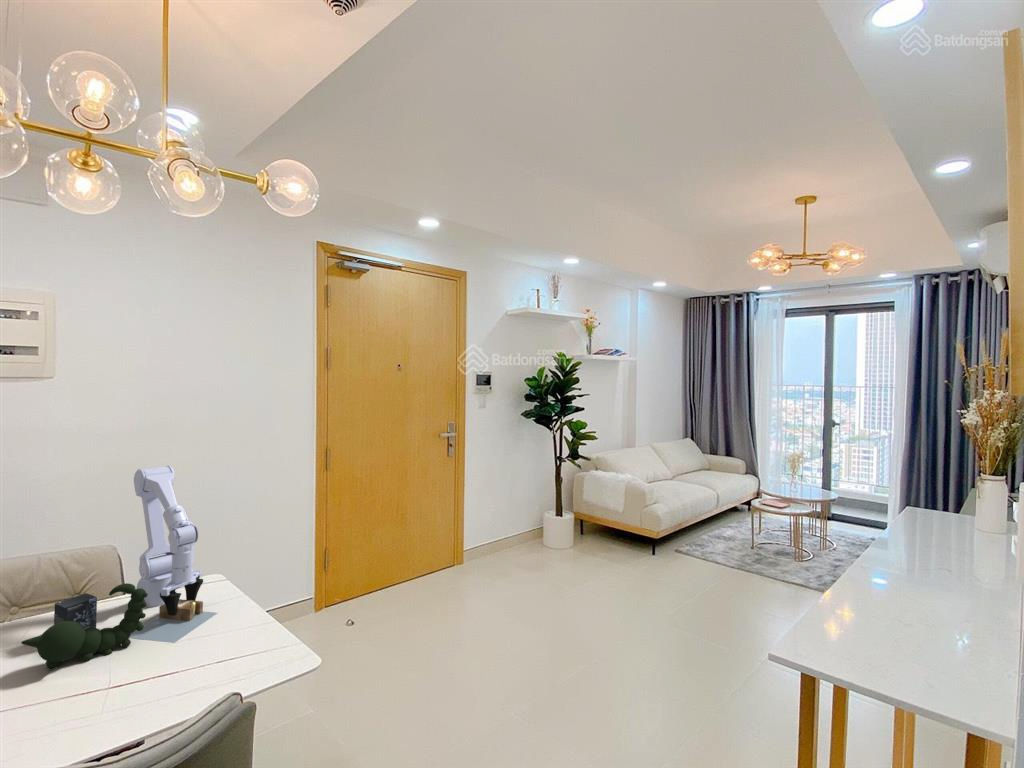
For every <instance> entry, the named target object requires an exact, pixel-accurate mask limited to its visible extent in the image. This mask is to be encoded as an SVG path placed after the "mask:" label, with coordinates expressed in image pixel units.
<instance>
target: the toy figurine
mask: <svg viewBox="0 0 1024 768" xmlns="http://www.w3.org/2000/svg"><path fill="white" fill-rule="evenodd" d="M136 588H137V587H136V586H135V584H132V583H129V582H128V583H121V584H118V585H116V586H115V587H114V588H112V589H111V591H109V593H108V595H109V596H113V595H114V594H116V593H124V594H127V595H130V599H129V601H128V602H127V609H126V610H125V612H124V614H123V618H122V619H121V620H120V622H119V623H118V624H117V625H115V626H113V627H104V628H102V629H100V628H97V627H96V628H87V629H85V628H84V627H83V626H82V625H81V624H79V623H77V622H74V621H63V622H60V623H57V624H55V625H54V624H53V625H50V627H48V628H47V629H46V630H45V631H43V632H42V633H41V634H40V635H38V636H34V637H29V638H27V639H23V640H22V641H21V644H22V645H25V646H28V647H30V648H31V647H32V648H34V649H36V650H37V654H38V655H39V657H40V658H41V659H42V660H44V661H45V666H46V669H47V670H50V671H53V670H55V669H57V668H59V667H60V666H61V665H62V664H63V662H64V661H67V660H70V659H71V658H74V657H75V656H77V657H80V661H81V662H83V663H86V662H89V661H91V660H92V659H93V658H94V654H96V653H98V654H102V656H104V657H106V656H109V655H112V654H113V650H114V649H115V648H116V647H117V646H120V645H121V646H122V647H123V648H127V647H129V646H130V645H131V643H132V642H131V638H129V637H130V635H131V633H133V632H134V631H135V630H137V631H141V630H142V629H143V628H144V626H143V625H144V624H142V621H141V620H143V619H145V617H146V615H147V614H146V613H145V612H144V610H143V609H144V608H145V607H147V606H146V605H147V603H146V602H145V599H144V598H145V597H147V595H148V594H147V593H146V591H145V590H144V589H141V588H139V589H136Z"/></svg>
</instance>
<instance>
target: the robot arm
mask: <svg viewBox="0 0 1024 768" xmlns="http://www.w3.org/2000/svg"><path fill="white" fill-rule="evenodd" d="M175 477H176V476H175V469H174V468H173V467H172V466H171V465H166V466H158V467H150V468H138V469H137V470H136V471H135V473H134V477H133V486H134V492H135V496H136V497H140V498H141V502H142V508H143V515H144V523H145V531H146V537H147V538H146V539H147V544H148V545H147V546H148V548H147V549H146V550H145V551H144V552H143V553H141V555H140V556H139V566H138V571H139V576H140V577H141V578H140V579H139V580H138V582H137V584H136V587H135V588H136V589H139V588H141V589H144V590H145V591H146V593H147V594H148V595H147V597H145V598H144V599H145V602H146V603H147V605H146V607H151V608H152V607H153V608H154V607H160V606H161V605H163V604H165V605H166V608H167V611H168V615H172V616H175V615H176V614H177V608H178V601H179V599H180V598H181V596H182V593H181V592H177V590H178V589H180V588H182V587H184V591H185V600H192V601H197V600H196V599H197V596H198V593H199V590H200V589H201V586H202V585H203V583H204V579H203V578H202V576H203V573H202V572H203V571H202V570H195V571H194V566H195V565H194V563H195V562H194V561H195V558H194V557H195V555H194V554H195V543H197V542H198V540H199V530H198V527H197V525H196V524H194V523H193V521H190V519H189V518H188V515H187V513H186V510H185V508H184V506H183V505H179V504H178V501H177V497H176V495H175V491H174V487H173V485H174V481H175V479H176V478H175ZM163 509H164V511H163ZM165 524H166V527H167V531H168V535H167V534H166V528H165ZM167 538H168V542H167Z"/></svg>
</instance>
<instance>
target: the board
mask: <svg viewBox="0 0 1024 768" xmlns="http://www.w3.org/2000/svg"><path fill="white" fill-rule="evenodd" d="M217 614H218V612H213V611H204V610H203V613H201V614H195V617H193V619H192V620H191V621H185V620H174V619H164V618H159V615H157V616H156V617H154V618H152V619H150V620H149V621H146V622H145V623H144V624H142V625H143V626H144V628H143V629H142V630H141V631H137V630H135V631H134V632H133V633H131V635H130V637H129V638H128V639H133V640H143V641H153V642H154V641H155V642H162V643H163V642H165V643H173V644H174V643H177V642H178V641H179V640H181V639H182V638H184V637H185V636H186V635H188V634H189V633H192V632H193V631H195V629H197V628H199V627H200V626H202V625H203V624H204V623H206V622H207V621H208V620H210V619H212V618H213V617H215V616H216V615H217Z"/></svg>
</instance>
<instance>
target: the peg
mask: <svg viewBox="0 0 1024 768" xmlns="http://www.w3.org/2000/svg"><path fill="white" fill-rule="evenodd" d="M195 605H196V602H190V603H189V607H192V608H193V617H195Z"/></svg>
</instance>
